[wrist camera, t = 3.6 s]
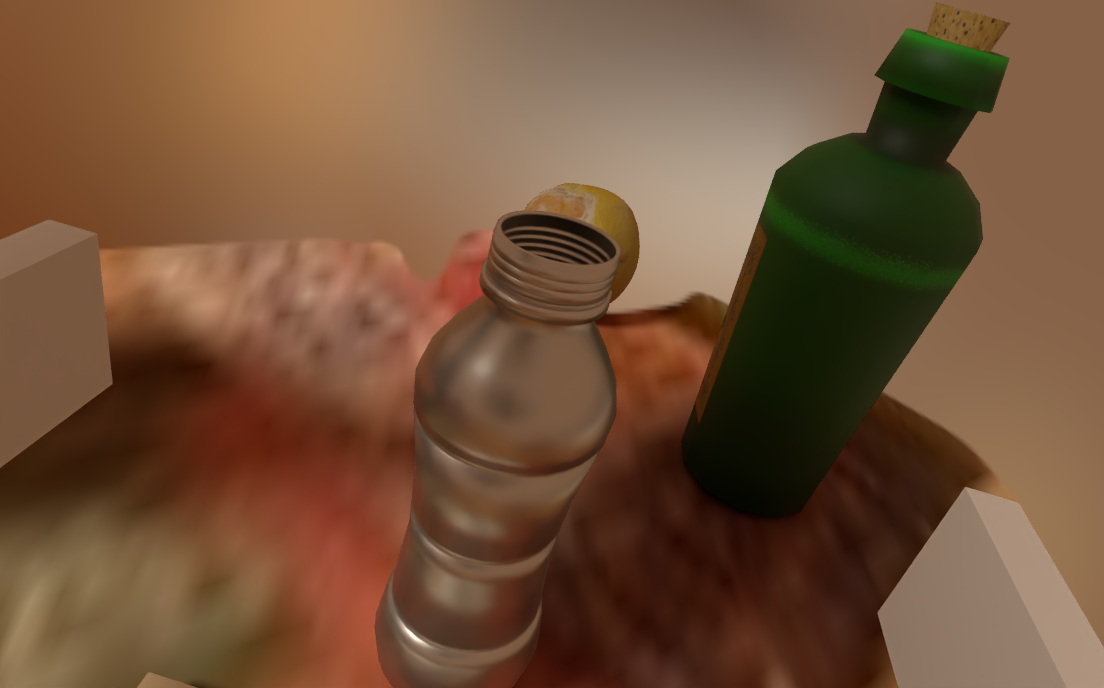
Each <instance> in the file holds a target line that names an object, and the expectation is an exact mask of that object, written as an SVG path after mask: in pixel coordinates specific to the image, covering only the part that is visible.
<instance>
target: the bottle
mask: <svg viewBox="0 0 1104 688" xmlns="http://www.w3.org/2000/svg"><path fill="white" fill-rule="evenodd" d="M1009 25H1010V23H1008V22H1004V21H1001V20H997V19H994V18H990V17H987V16H983V15H980V14H976V13H972V12H969V11H965V10H962V9H958V8H955V7H951V6H947V5H944V4H940V3H936V4H935V7H934V10H933V14H932V17H931V20H930V23H929V26H928V29H927V33H926V32H922V31H918V30H914V29H906V30H905V32H904V33H903V35H902V36H901V37H900V39H899V40H898V42H897V43H896V45H895V46H894V48H893V49H892V50H891V52H890V53H889V55H888V56H887V58H886V59H885V61H884V62H883V64H882V65H881V67H880V68H879V70H878V71H877V72H876V74H875V76H877V77H879V78H880V79H882V80H884V81H885V82H884V85H883V88H882V91H881V93H880V96H879V99H878V102H877V104H876V107H875V110H874V112H873V115H872V118H871V121H870V123H869V126H868V129H867V131H866V133H850V134H846V135H843V136H840V137H836V138H833V139H829V140H826V141H823V142H819V143H817V144H814V145H812V146H809V147H807V148H805V149H804V150H803V151H802V152H800V153H799V154H797V155H796V156H795V157H794V158H792V159H791V160H789V161H788V162H787V163H785V164H784V165H783V166H782V167H780V168H779V169H777V170H776V172H775V175H774V178H773V180H772V184H771V186H770V189H769V192H768V195H767V198H766V201H765V204H764V206H763V209H762V212H761V215H760V218H759V221H758V223H757V226H756V229H755V232H754V235H753V238H752V241H751V244H750V246H749V249H748V252H747V255H746V258H745V261H744V264H743V266H742V269H741V272H740V275H739V278H738V281H737V284H736V286H735V290H734V292H733V295H732V298H731V301H730V304H729V307H728V309H727V312H726V315H725V318H724V321H723V324H722V327H721V329H720V332H719V335H718V338H717V341H716V344H715V347H714V350H713V352H712V355H711V358H710V361H709V364H708V367H707V370H706V372H705V375H704V378H703V381H702V384H701V387H700V390H699V393H698V395H697V398H696V401H695V404H694V407H693V410H692V413H691V415H690V418H689V421H688V424H687V427H686V430H685V433H684V436H683V438H682V441H681V443H682V451H683V459H684V464H685V466H686V467H687V468H688V469H689V471H690V472H691V473H692V474H693V476H694V477H695V478H696V479H697V481H698V482H699V483H700V484H701V485H702V487H703V488H704V489H705V490H707V491H708V492H710V493H712V494H713V495H715V496H717V497H718V498H720V499H722V500H723V501H725V502H726V503H728V504H730V505H731V506H733V507H735V508H736V509H738V510H743V511H747V512H751V513H755V514H760V515H764V516H768V517H772V518H775V517H779V516H784V515H788V514H792V513H797V512H800V511H801V510H802V508H803V507H804V505H805V504H806V503H807V501H808V500H809V498H810V497H811V495H812V494H813V492H814V491H815V489H816V488H817V486H818V485H819V483H820V482H821V480H822V479H823V478H824V476H825V475H826V473H827V472H828V470H829V469H830V467H831V466H832V464H833V463H834V461H835V460H836V458H837V457H838V456H839V454H840V453H841V451H842V450H843V448H844V447H845V445H846V444H847V442H848V441H849V439H850V438H851V436H852V435H853V434H854V432H855V431H856V429H857V428H858V426H859V425H860V423H861V422H862V420H863V419H864V417H865V416H866V414H867V413H868V412H869V410H870V409H871V407H872V406H873V404H874V403H875V401H876V400H877V398H878V397H879V395H880V394H881V392H882V391H883V389H884V388H885V386H886V385H887V384H888V382H889V381H890V379H891V378H892V376H893V375H894V373H895V372H896V370H897V369H898V368H899V366H900V364H901V363H902V362H903V360H904V359H905V357H906V356H907V354H908V353H909V351H910V350H911V348H912V347H913V345H914V344H915V343H916V341H917V340H918V338H919V336H920V335H921V334H922V332H923V331H924V329H925V328H926V326H927V325H928V323H929V322H930V321H931V319H932V318H933V316H934V314H935V313H936V312H937V310H938V309H939V307H940V306H941V304H942V303H943V301H944V300H945V299H946V297H947V296H948V294H949V293H950V291H951V290H952V288H953V287H954V285H955V284H956V282H957V281H958V279H959V278H960V277H961V275H962V273H963V272H964V271H965V269H966V268H967V266H968V265H969V263H970V262H971V260H972V259H973V257H974V256H975V255H976V253H977V251H978V249H979V247H980V245H981V242H982V240H983V235H982V224H981V213H980V203H979V202H978V200H977V198H976V197H975V195H974V194H973V192H972V190H971V189H970V187H969V185H968V184H967V182H966V181H965V179H964V177H963V176H962V174H961V172H960V171H958V170H957V169H956V168H955V167H953V166H952V165H951V164H949V163H948V162H947V161H946V160H947V158H948V156H949V155H950V153H951V152H952V150H953V149H954V147H955V145H956V144H957V143H958V141H959V139H960V138H961V136H962V135H963V133H964V132H965V130H966V129H967V127H968V126H969V124H970V122H971V121H972V119H973V118H974V116H975V114H976V113H977V112H978V111H982V112H987V113H990V112H992V110H993V108H994V105H995V101H996V98H997V95H998V92H999V89H1000V86H1001V83H1002V80H1003V77H1004V74H1005V71H1006V67H1007V64H1008V62H1009V58H1008V57H1005V56H1002V55H1000V54H997V53H994V52H991V49H992V48H993V47H994V45H995V44H996V43H997V41H998V40H999V38H1000V37H1001V36H1002V34H1003V33H1004V31H1005V30H1006V29H1007V27H1008V26H1009Z"/></svg>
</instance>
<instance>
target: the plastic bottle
mask: <svg viewBox="0 0 1104 688" xmlns="http://www.w3.org/2000/svg"><path fill="white" fill-rule="evenodd" d="M620 256H621V248H620V246H619V244H618V243H617V242H616V240H615V239H614V238H612V237H611V236H610V235H609V234H608V233H606V232H604V231H603V230H601V229H600V228H598V227H596V226H594V225H592V224H589V223H587V222H584V221H582V220H579V219H576V218H573V217H570V216H566V215H562V214H558V213H552V212H545V211H529V210H525V211H516V212H512V213H508V214H506V215H503V216H502V217H501V218H500V219H498V222H497V224H496V226H495V228H494V231H493V235H492V240H491V244H490V249H489V253H488V257H487V258H486V259H485V260H484V262H483V265H482V268H481V272H480V277H479V285H480V287H481V289H482V291H483V293H484V295H482V296H481V297H479V298H478V299H476V300H475V301H474V302H472V303H471V304H469V305H468V306H467V307H465V308H464V309H462V310H461V311H460V312H459V313H457V314H456V315H455V316H454V317H453V318H452V319H451V320H450V321H449V322H448V323H446V324H445V325H444V326H443V327H442V328H441V329H440V330H439V331H438V332H437V333H436V334H435V335H434V336H433V337H432V339H431V341H430V342H429V344H428V346H427V348H426V350H425V352H424V353H423V355H422V357H421V359H420V361H419V363H418V366H417V368H416V374H415V388H414V401H413V403H414V443H415V472H414V482H413V492H412V501H411V511H410V520H409V523H408V527H407V530H406V534H405V537H404V540H403V544H402V547H401V551H400V554H399V557H398V561H397V564H396V566H395V568H394V570H393V572H392V573H391V575H390V577H389V579H388V582H387V584H386V587H385V590H384V593H383V595H382V598H381V601H380V604H379V606H378V609H377V612H376V619H375V634H376V643H377V651H378V659H379V662H380V665H381V668H382V670H383V673H384V675H385V676H386V678H387V679H388V681H389V682H390V684H391V685H392V686H393V687H394V688H513V687H514V686H515V684H516V683H517V681H518V680H519V678H520V677H521V675H522V674H523V672H524V671H525V669H526V668H527V666H528V665H529V663H530V662H531V660H532V659H533V656H534V653H535V651H536V648H537V645H538V638H539V631H540V624H541V616H542V594H543V589H544V584H545V579H546V575H547V570H548V565H549V560H550V556H551V551H552V548H553V545H554V543H555V541H556V538H557V536H558V533H559V531H560V528H561V526H562V523H563V521H564V518H565V516H566V513H567V511H568V509H569V506H570V504H571V502H572V500H573V498H574V496H575V495H576V493H577V491H578V489H579V487H580V486H581V484H582V482H583V480H584V478H585V477H586V475H587V473H588V471H589V469H590V468H591V466H592V464H593V462H594V460H595V459H596V457H597V455H598V453H599V451H600V448H601V447H602V446H603V444H604V442H605V440H606V437H607V435H608V433H609V431H610V428H611V426H612V424H613V421H614V419H615V416H616V378H615V374H614V371H613V368H612V365H611V361H610V358H609V355H608V352H607V348H606V345H605V343H604V341H603V339H602V336H601V334H600V332H599V330H598V328H597V325H596V323H595V321H597V320H599V319H600V318H602V317H603V316H604V315H605V314H606V312H607V310H608V307H609V304H610V301H611V298H612V290H611V287H612V284H613V281H614V278H615V275H616V272H617V269H618V266H619V263H620Z"/></svg>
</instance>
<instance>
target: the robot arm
mask: <svg viewBox="0 0 1104 688" xmlns="http://www.w3.org/2000/svg"><path fill="white" fill-rule="evenodd" d="M112 384H113V382H112V372H111V362H110V353H109V343H108V333H107V324H106V314H105V305H104V295H103V285H102V276H101V266H100V256H99V247H98V237H97V233H93V232H90V231H87V230H83V229H80V228H76V227H73V226H69V225H66V224H63V223H59V222H55V221H52V220H47V221H44V222H42V223H39V224H37V225H35V226H32V227H30V228H28V229H25V230H23V231H20V232H18V233H16V234H13V235H11V236H8V237H6V238H4V239H1V240H0V468H1V467H2V466H3V465H5V464H6V463H7V462H9V461H10V460H11V459H13V458H14V457H15V456H17V455H18V454H19V453H21V452H22V451H23V450H25V449H26V448H27V447H29V446H30V445H31V444H33V443H34V442H35V441H37V440H38V439H39V438H41V437H42V436H43V435H45V434H46V433H47V432H49V431H50V430H51V429H53V428H54V427H55V426H57V425H58V424H59V423H61V422H62V421H63V420H65V419H66V418H68V417H69V416H70V415H72V414H73V413H74V412H76V411H77V410H78V409H80V408H81V407H82V406H84V405H85V404H86V403H88V402H89V401H90V400H92V399H93V398H94V397H96V396H97V395H98V394H100V393H101V392H102V391H104V390H105V389H106V388H108V387H109V386H110V385H112ZM878 617H879V620H880V624H881V628H882V631H883V635H884V638H885V642H886V646H887V649H888V653H889V656H890V660H891V664H892V667H893V671H894V675H895V678H896V682H897V685H898V688H1104V647H1103V646H1102V644H1101V642H1100V640H1099V639H1098V637H1097V635H1096V634H1095V632H1094V630H1093V628H1092V627H1091V625H1090V624H1089V622H1088V620H1087V618H1086V617H1085V615H1084V613H1083V611H1082V610H1081V608H1080V606H1079V605H1078V603H1077V601H1076V600H1075V598H1074V597H1073V594H1072V593H1071V591H1070V589H1069V588H1068V586H1067V584H1066V582H1065V581H1064V579H1063V577H1062V576H1061V574H1060V572H1059V571H1058V569H1057V567H1056V565H1055V564H1054V562H1053V560H1052V559H1051V557H1050V555H1049V554H1048V552H1047V550H1046V548H1045V547H1044V545H1043V543H1042V542H1041V540H1040V538H1039V537H1038V535H1037V533H1036V531H1035V530H1034V528H1033V526H1032V525H1031V523H1030V521H1029V519H1028V518H1027V516H1026V514H1025V513H1024V511H1023V509H1022V508H1021V506H1020V504H1019V502H1016V501H1012V500H1009V499H1005V498H1002V497H998V496H995V495H992V494H988V493H985V492H981V491H978V490H974V489H971V488H968V487H965V488H964V489H963V491H962V492H961V494H960V495H959V497H958V498H957V499H956V501H955V502H954V504H953V505H952V507H951V508H950V509H949V511H948V512H947V514H946V515H945V517H944V518H943V519H942V521H941V522H940V524H939V525H938V527H937V528H936V530H935V531H934V532H933V534H932V535H931V537H930V538H929V540H928V541H927V542H926V544H925V545H924V547H923V548H922V550H921V551H920V552H919V554H918V555H917V557H916V558H915V560H914V561H913V563H912V564H911V565H910V567H909V568H908V570H907V571H906V573H905V574H904V575H903V577H902V578H901V580H900V581H899V583H898V584H897V585H896V587H895V588H894V590H893V591H892V593H891V594H890V596H889V597H888V598H887V600H886V601H885V603H884V604H883V606H882V607H881V608H880V610H879V611H878Z"/></svg>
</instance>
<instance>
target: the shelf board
mask: <svg viewBox="0 0 1104 688" xmlns="http://www.w3.org/2000/svg"><path fill="white" fill-rule="evenodd" d="M137 688H197V687H194V686H191V685H187V684H184V683H181V682H178V681H175V680H172V679H169V678H166V677H163V676H160V675H156V674H153V673H150V672H148V673H147V675H146V676H145V677H144V679H143V680H142V681H141V683H140V684H139V685H138V687H137Z"/></svg>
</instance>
